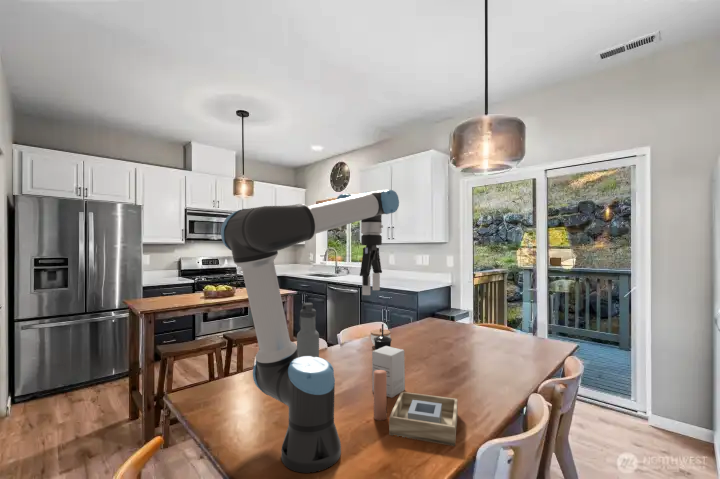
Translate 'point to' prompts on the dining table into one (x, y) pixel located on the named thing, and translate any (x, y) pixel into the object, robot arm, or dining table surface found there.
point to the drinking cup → (382, 341)
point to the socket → (425, 411)
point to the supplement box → (390, 368)
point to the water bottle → (307, 332)
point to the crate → (424, 429)
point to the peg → (380, 395)
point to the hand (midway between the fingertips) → (371, 292)
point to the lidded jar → (379, 334)
